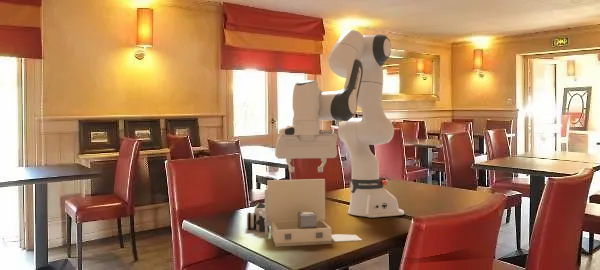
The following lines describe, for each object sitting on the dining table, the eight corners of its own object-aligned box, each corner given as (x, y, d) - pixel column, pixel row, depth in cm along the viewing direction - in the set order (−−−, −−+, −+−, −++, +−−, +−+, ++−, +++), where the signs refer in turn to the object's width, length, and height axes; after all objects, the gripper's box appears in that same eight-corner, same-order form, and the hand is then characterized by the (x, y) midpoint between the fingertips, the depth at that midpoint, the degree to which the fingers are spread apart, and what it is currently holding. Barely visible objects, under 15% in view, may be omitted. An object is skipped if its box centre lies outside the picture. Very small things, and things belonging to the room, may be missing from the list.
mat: (354, 234, 158) (354, 233, 158) (362, 241, 149) (362, 239, 149) (328, 235, 157) (328, 234, 157) (335, 242, 148) (335, 241, 148)
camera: (248, 224, 176) (248, 198, 176) (270, 224, 177) (270, 198, 177) (246, 234, 160) (246, 205, 160) (271, 233, 161) (271, 205, 161)
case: (324, 233, 161) (324, 179, 161) (335, 244, 146) (334, 184, 145) (264, 235, 158) (263, 180, 157) (268, 247, 142) (267, 186, 142)
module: (312, 234, 154) (312, 209, 154) (316, 239, 147) (316, 213, 147) (297, 235, 154) (297, 210, 153) (301, 240, 147) (300, 214, 146)
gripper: (334, 129, 155) (335, 170, 155) (274, 130, 151) (274, 171, 152) (339, 129, 148) (339, 172, 149) (276, 130, 145) (276, 173, 145)
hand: (306, 172), depth 150 cm, fingers open, 8 cm apart
